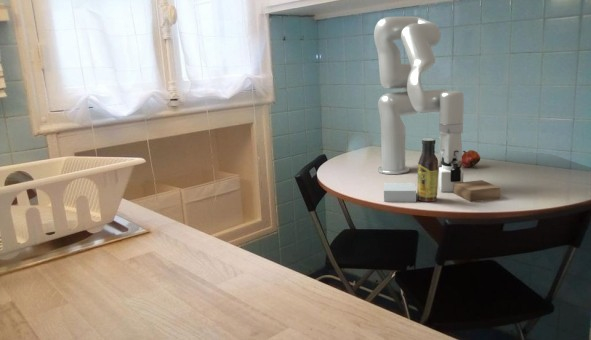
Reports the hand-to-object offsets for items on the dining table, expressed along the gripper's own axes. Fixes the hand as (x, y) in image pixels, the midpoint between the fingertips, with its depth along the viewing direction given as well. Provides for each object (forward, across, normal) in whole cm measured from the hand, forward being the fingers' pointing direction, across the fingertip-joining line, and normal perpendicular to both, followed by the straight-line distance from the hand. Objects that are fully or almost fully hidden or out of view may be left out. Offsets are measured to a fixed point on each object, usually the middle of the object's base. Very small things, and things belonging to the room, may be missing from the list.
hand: (450, 178), depth 162 cm
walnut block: (+4, +10, +5) cm, 12 cm away
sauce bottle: (+4, +11, -11) cm, 16 cm away
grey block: (+4, +6, -19) cm, 20 cm away
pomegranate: (+4, -29, +19) cm, 35 cm away
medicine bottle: (+4, 0, 0) cm, 4 cm away
